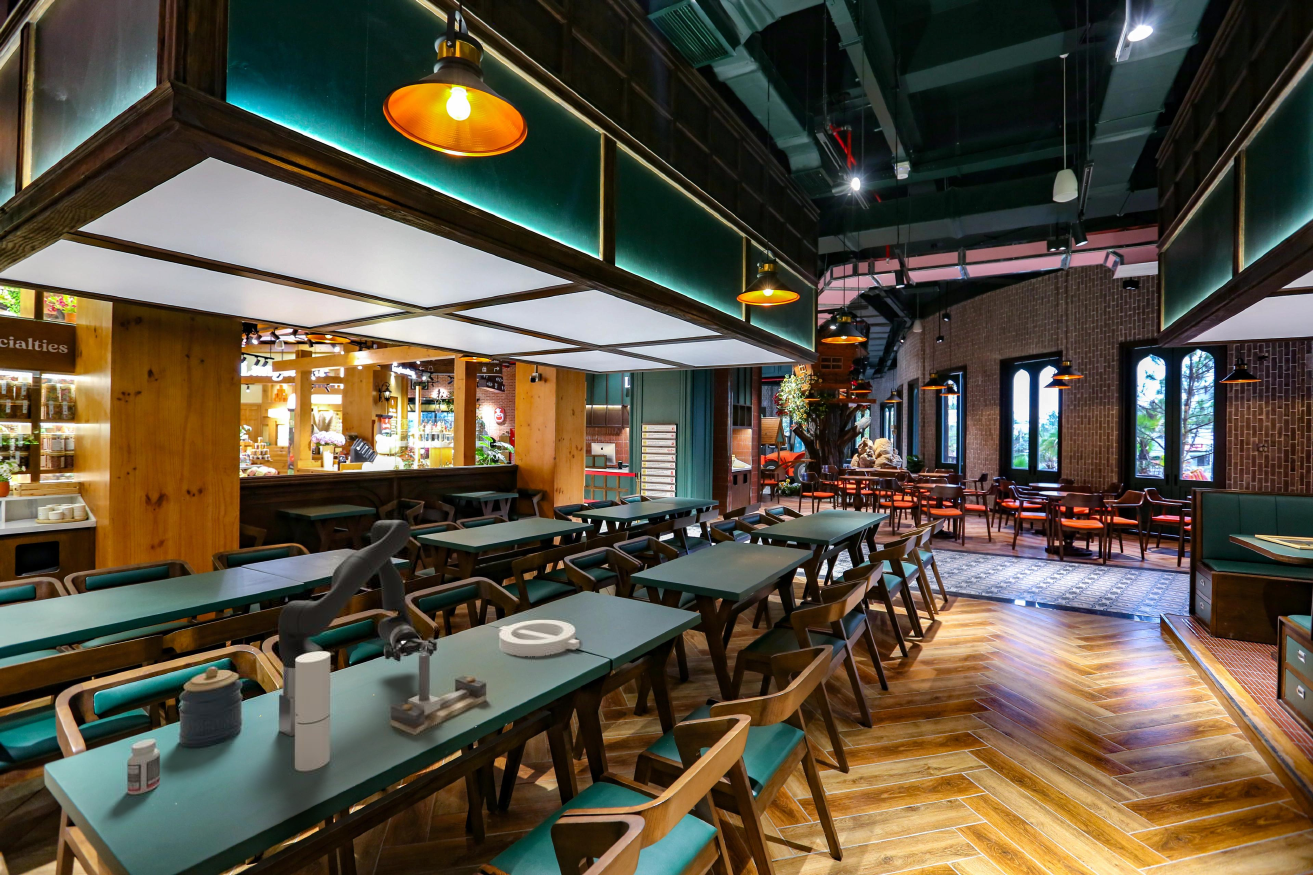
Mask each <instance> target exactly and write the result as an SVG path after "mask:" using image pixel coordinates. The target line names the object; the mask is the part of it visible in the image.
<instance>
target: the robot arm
mask: <svg viewBox="0 0 1313 875" xmlns="http://www.w3.org/2000/svg"><path fill="white" fill-rule="evenodd" d="M411 536H412V528H411V525H410V524H409V523H408V521H405V520H401V519H392V520H391V519H390V520H389V519H385V520H383V519H382V520H378V521H376V522H374V524H373V525H372V527H371V529H370V542H371V543H370V544H371V545H368V546H366V547H363V548H361V549H359V550H357V551H355V552H353V553H351V554H350V555H348V556H347V557H346V558H345V559H344V560H343V561H342V562H341V563H340V564H339V565H338V566H337V567H336V568H335V569H334V571H333V573H332V577H331V589H329V591H328V592H327V593H326V594H324V595H323V597H321V598H320V599H318V600H315V601H314V600H291V601H289V602H288V603H287V604H285V605H284V606H283V607H282V609H281V610H280V614H279V617H278V624H277V626H278V627H277V629H278V631H277V633H278V645H279V646H278V647H279V655H280V658H281V660H282V692H281V693H280V694H279V695H278V731H280V732H281V733H283V734H286V735H287V736H288V737H292V736H295V659H296V658H297V657H299V656H301V655H303V654H306V653H311V652H318V651H324V650H323V648H322V647H321V646H320V645H318V644H316V643H315V642H313V641H312V640H311V639H310V638H315V637H316V638H317V637H319V636H321V635H322V634H324V632H325V631H326V630H328V628H329V627H330V625H332V623H333V622H334V620H335V619H336V617H337V616H338V615H339V614H340V613H341V611H342V609H343V608H345V606H346V604H348V603H349V601H350V600H351V599H352V598H353V597H354V596H355V594H357V593H358V591H359V590H360V589H361V588H362V587H363V586H365V584H367V582H369V580H370V579H371V578H372V577H373V575H375V573H376V572H378V575H379V580H380V581H379V582H380V588H381V600H382V609H383V610H384V611H386V612H398V613H399V614H398V615H393V616H388V617H385V618H383V619H381V620H380V621H379V623H378V626H377V632H378V636H380V639H381V640H383V641H385V642H388V643H390V644H391V645H389V644H384V646H383V654H384V659H385V660H390V659H391V658H392V659H393V660H394V661H397V662H401V658H402V657H409V656H412V655H413V654H424V653H428V654H430V657H432V655H433V654H434V652H437V651H438V646H437V645H438V642H437V641H436V640H435V638H433V637H428V638H427V640H423V639H421V638H420V636H419V634H418V633H417V632H416V631H415V629H414V623H413V620H412V618H411V615H410V613H409V611H408V607H407V602H406V590H405V583H404V580H403V577H402V576H401V574H400V572H399V570H398V569H397V568H396V566H395V564H394V563H393V561H392V557H394V555H395V554H397V553H398V552H399V551H401V550H402V549H403V548H404V547H405V546H406V545H407V543H408V542H409V540H410V538H411Z"/></svg>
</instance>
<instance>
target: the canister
mask: <svg viewBox="0 0 1313 875" xmlns="http://www.w3.org/2000/svg"><path fill="white" fill-rule="evenodd" d="M239 677H240V675H239V673H236V672H234V671H231V670H227V669H218V668H217V666H216V667H215V666H210V667H208V668H207V669H206V671H205V672H203V673H201V674H198V675H195V676H193V677H192V678H191V679H190V680H189V681H187V682H186V683H185V684H184V685H183V689H184V691H182V692H181V693H180V695H179V700H180V701H181V706H180V707H179V709H178V711H179V733H178V736H179V737H178V739H179V743H180V745H181V746H182V747H185V748H191V749H192V748H204V747H208V746H213V745H217V744H220V743H222V742H225V741H228V740H229V739H232V738H233V737H235V736H236V735H237V734H239V733H240V731H241V729H242V725H243V717H242V709H243V708H242V703H243V701H242V700H243V694H242V693H241V689H242V687H243V682H242V681H240V680H239Z"/></svg>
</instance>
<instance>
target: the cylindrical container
mask: <svg viewBox="0 0 1313 875" xmlns="http://www.w3.org/2000/svg"><path fill="white" fill-rule="evenodd" d="M330 743H331V653H330V651H324V650H323V651H318V652H311V653H306V654H303V655H301V656H299V657H297V658H296V659H295V735H294V769H295V770H296V771H299V772H308V771H314V770H317V769H319V768H321V767H324V766H326V765H327V764H328V763H329V762H330V760H331V744H330Z"/></svg>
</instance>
